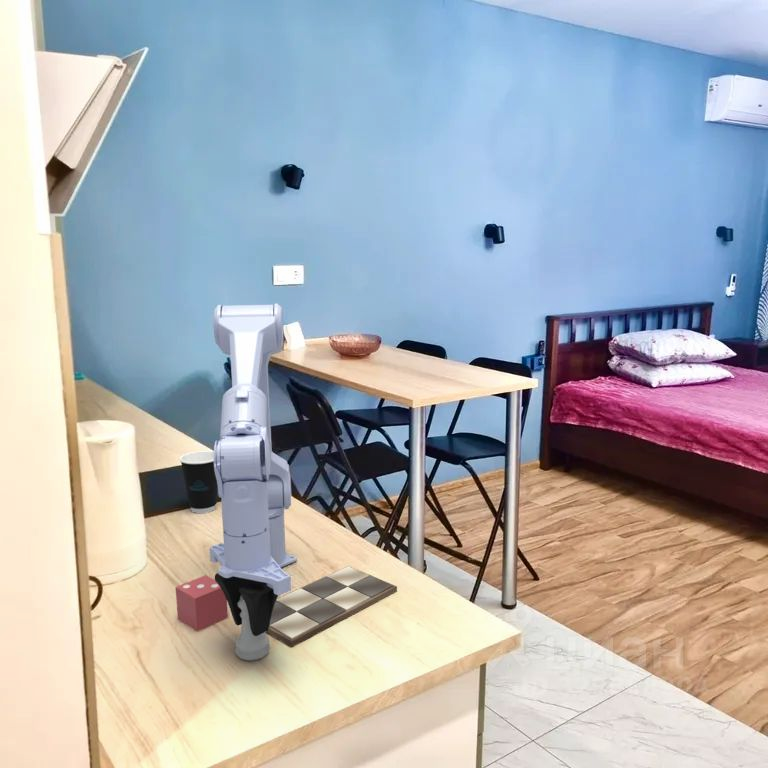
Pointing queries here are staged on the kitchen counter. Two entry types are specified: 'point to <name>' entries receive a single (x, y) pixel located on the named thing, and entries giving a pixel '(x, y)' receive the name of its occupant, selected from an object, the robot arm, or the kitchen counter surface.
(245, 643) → the rook chess piece
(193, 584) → the die
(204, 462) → the dixie cup
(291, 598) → the game board
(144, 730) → the kitchen counter surface
